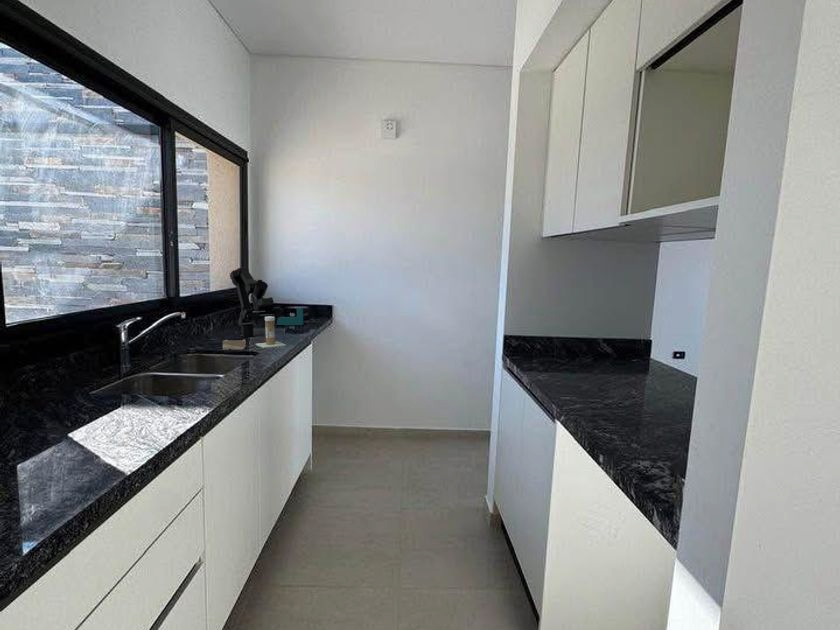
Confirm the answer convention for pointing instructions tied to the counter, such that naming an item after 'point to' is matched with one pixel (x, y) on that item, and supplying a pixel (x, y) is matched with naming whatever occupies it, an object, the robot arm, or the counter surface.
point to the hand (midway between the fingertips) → (267, 326)
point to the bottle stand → (234, 344)
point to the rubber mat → (264, 345)
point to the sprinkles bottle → (270, 330)
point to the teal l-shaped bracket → (292, 319)
